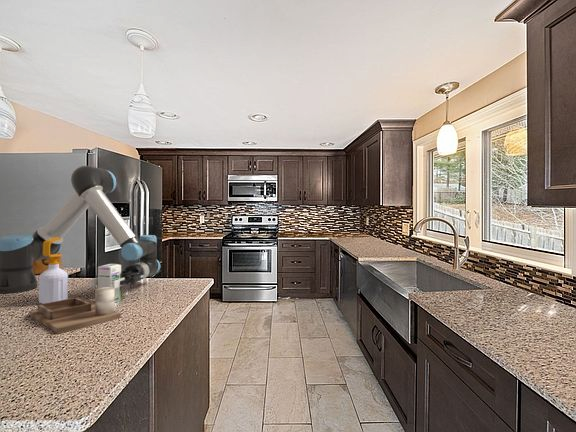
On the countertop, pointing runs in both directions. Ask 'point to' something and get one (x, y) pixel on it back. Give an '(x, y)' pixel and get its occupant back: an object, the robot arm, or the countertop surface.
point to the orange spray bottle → (43, 265)
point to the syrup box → (110, 278)
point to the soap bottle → (52, 278)
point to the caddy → (77, 311)
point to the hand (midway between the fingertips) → (101, 284)
